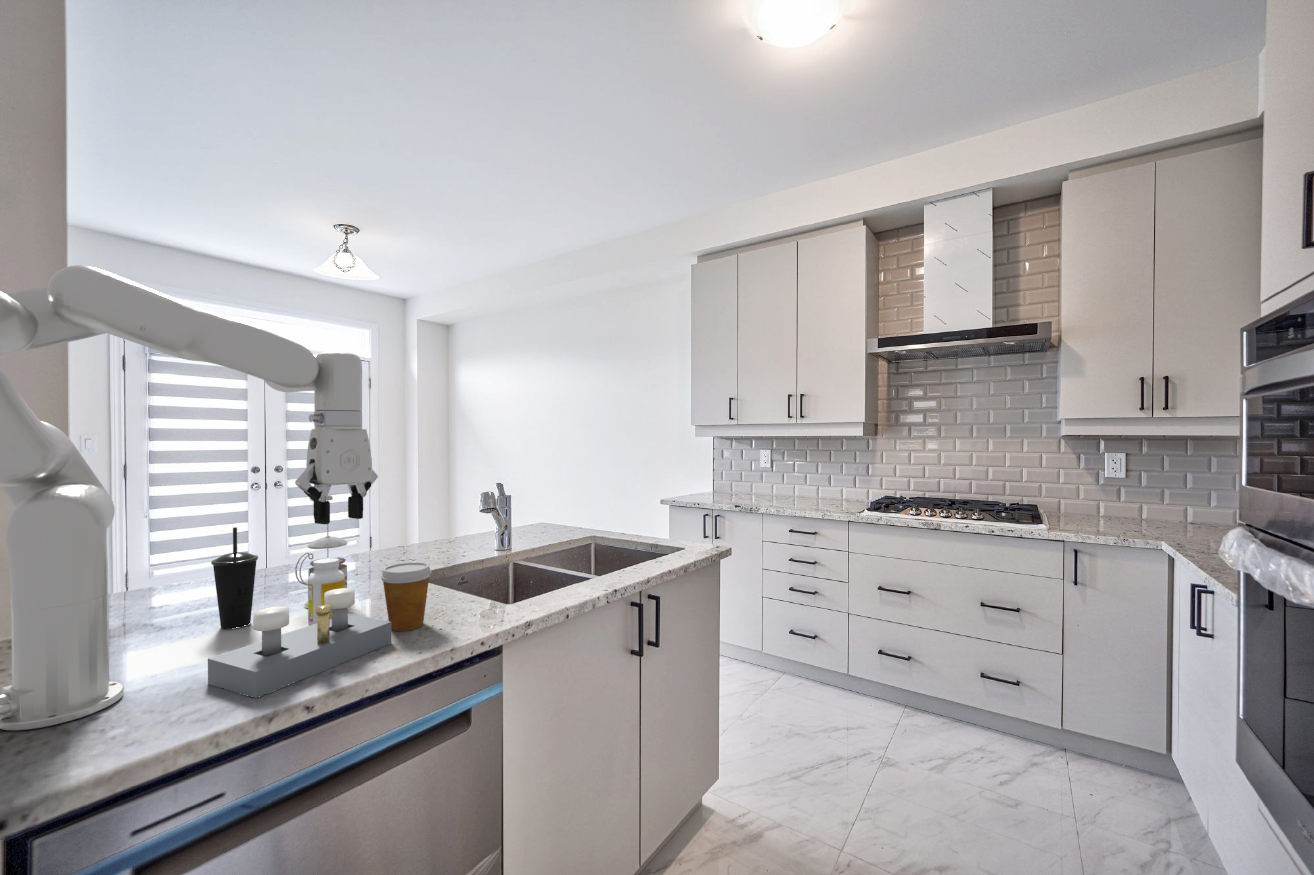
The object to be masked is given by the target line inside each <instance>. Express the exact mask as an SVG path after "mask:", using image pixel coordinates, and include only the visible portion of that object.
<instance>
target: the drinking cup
mask: <svg viewBox="0 0 1314 875" xmlns="http://www.w3.org/2000/svg"><path fill="white" fill-rule="evenodd" d="M258 559H259V556H258V555H257V554H252V553H249V552H243V551H239V552H238V527H235V526H234V527H232V552H230V553H226V554H223V555H221V556H219V557H217V558H215V559H212V560H211V566H212V567H213V575H214V583H215V592H216V599H217V607H218V616H219V624H220V629H221V630H233V629H232V628H236V627H241V628H243V627H242V626H244V625H247V626H249V625H250V624H251V619H252V609H253V600H254V590H255V580H256V579H255V578H256V568H257V561H258ZM249 623H250V624H249ZM248 624H249V625H248ZM244 627H245V626H244ZM236 629H237V628H236Z"/></svg>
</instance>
